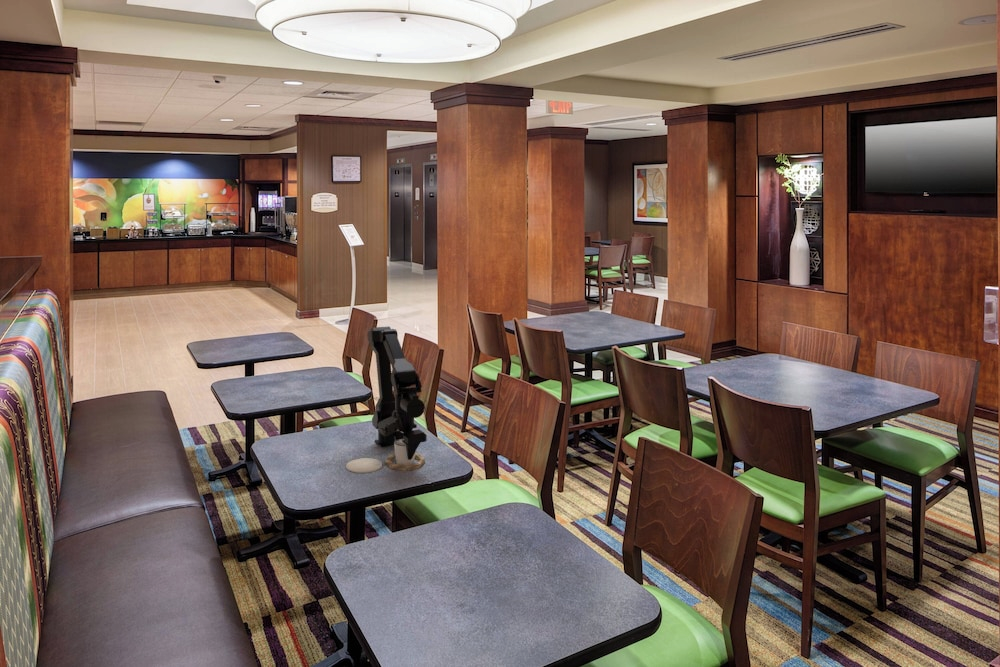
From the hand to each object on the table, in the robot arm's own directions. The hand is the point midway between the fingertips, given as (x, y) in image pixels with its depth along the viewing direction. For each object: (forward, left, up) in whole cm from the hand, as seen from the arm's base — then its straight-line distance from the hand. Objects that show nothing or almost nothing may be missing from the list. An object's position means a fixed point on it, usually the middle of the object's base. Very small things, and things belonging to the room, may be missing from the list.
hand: (405, 456), depth 225 cm
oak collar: (0, 0, -2) cm, 2 cm away
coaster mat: (-4, -12, -2) cm, 13 cm away
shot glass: (0, 0, -3) cm, 3 cm away
